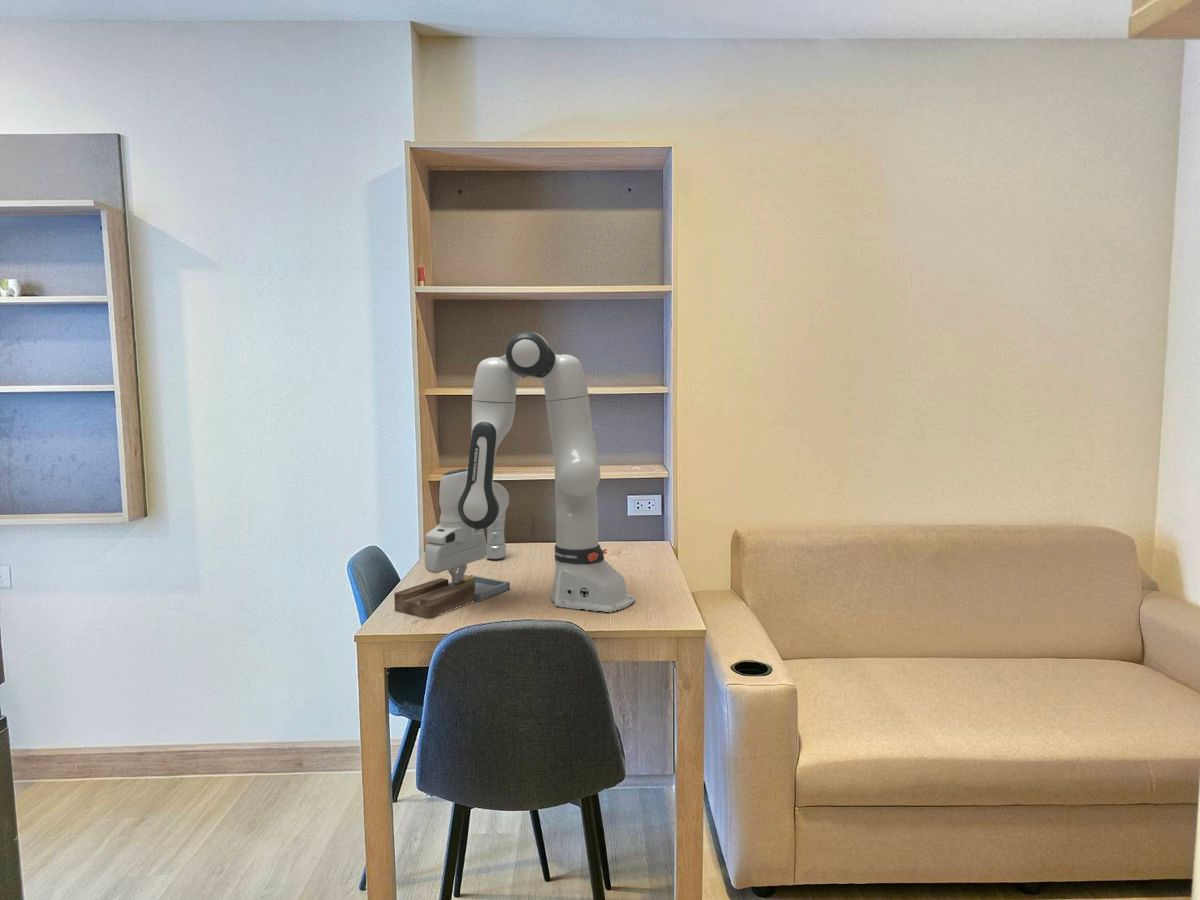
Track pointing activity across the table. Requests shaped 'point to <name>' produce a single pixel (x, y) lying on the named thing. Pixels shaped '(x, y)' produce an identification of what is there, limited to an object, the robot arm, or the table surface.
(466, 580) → the brass block
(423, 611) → the slotted board
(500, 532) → the plastic bottle
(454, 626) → the table surface
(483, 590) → the tray
